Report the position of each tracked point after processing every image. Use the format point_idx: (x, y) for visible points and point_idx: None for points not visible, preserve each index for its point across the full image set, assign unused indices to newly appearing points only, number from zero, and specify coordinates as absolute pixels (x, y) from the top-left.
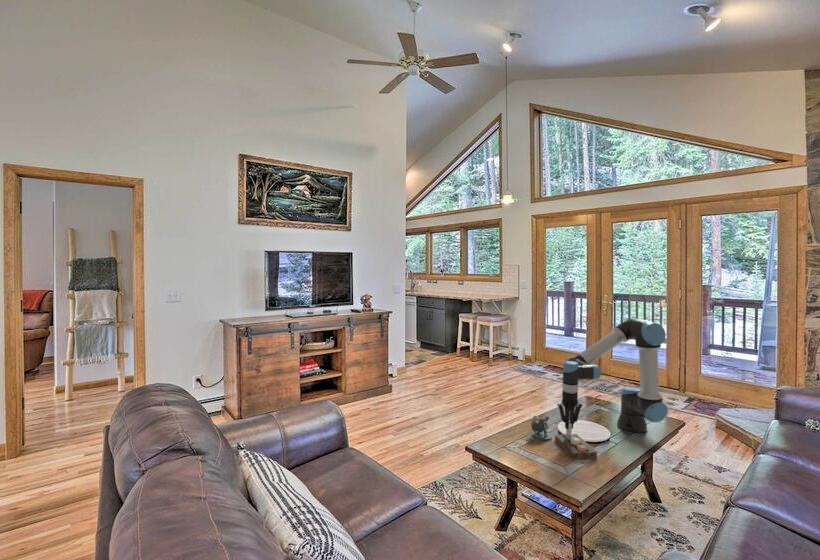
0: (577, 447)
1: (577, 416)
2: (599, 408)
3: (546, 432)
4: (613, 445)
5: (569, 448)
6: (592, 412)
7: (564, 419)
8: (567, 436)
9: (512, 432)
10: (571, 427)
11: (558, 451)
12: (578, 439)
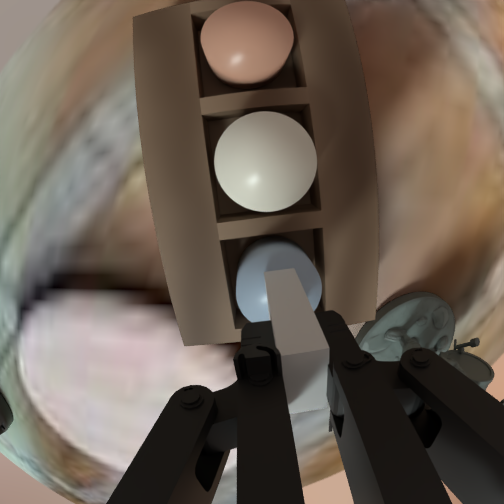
0: (292, 32)
1: (143, 473)
2: (72, 489)
3: (410, 347)
4: (5, 247)
5: (355, 62)
6: (89, 485)
7: (444, 382)
8: (308, 261)
9: (486, 357)
10: (274, 320)
11: (392, 140)
12: (228, 156)
